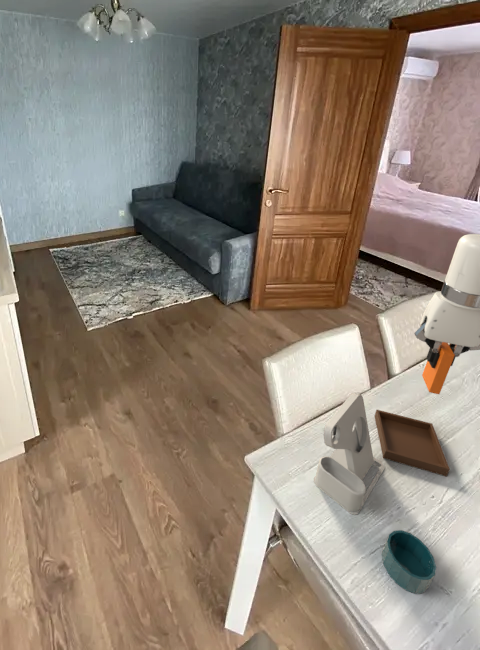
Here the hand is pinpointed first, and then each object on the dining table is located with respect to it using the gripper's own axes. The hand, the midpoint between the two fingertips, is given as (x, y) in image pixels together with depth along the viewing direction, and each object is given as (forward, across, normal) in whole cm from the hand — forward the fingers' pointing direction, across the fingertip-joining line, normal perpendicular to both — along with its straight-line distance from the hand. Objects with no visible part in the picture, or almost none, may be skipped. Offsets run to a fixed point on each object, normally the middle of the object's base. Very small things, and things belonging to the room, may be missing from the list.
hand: (437, 364), depth 77 cm
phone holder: (+27, +15, +13) cm, 33 cm away
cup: (+26, +7, +29) cm, 40 cm away
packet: (+6, 0, 0) cm, 6 cm away
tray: (+26, 0, -1) cm, 26 cm away
